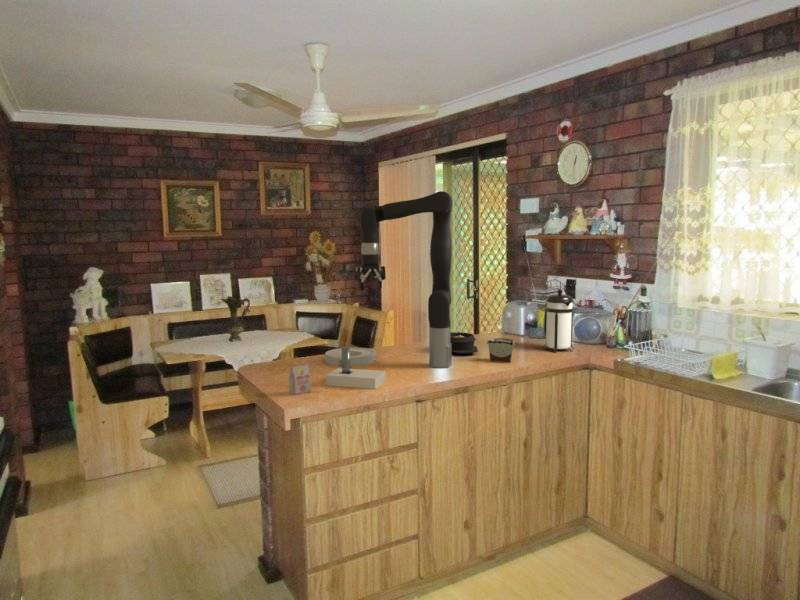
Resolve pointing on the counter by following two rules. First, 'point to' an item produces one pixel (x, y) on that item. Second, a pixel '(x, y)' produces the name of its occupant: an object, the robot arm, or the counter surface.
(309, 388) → the grey printed package
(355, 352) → the ashtray
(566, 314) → the coffee press
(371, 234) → the robot arm
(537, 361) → the counter surface
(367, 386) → the peg block
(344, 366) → the graphite peg
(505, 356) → the food container
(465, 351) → the casserole
